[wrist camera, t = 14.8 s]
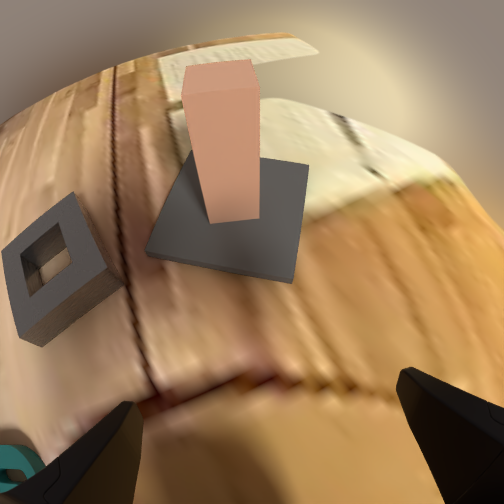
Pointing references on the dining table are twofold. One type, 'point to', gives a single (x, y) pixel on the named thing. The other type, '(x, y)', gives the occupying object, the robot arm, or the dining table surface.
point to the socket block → (63, 284)
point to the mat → (235, 225)
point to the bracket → (17, 464)
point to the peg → (225, 136)
